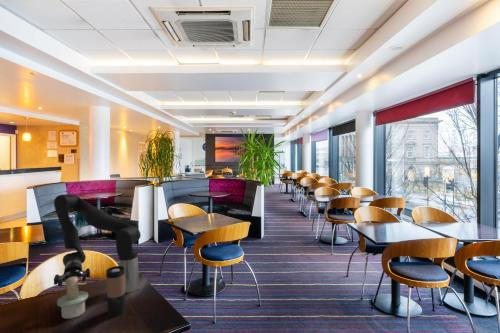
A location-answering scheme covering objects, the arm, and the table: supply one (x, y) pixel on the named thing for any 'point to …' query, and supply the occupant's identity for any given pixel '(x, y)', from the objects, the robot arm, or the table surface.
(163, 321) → the table surface
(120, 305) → the travel mug
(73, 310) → the bowl
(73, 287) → the lid
